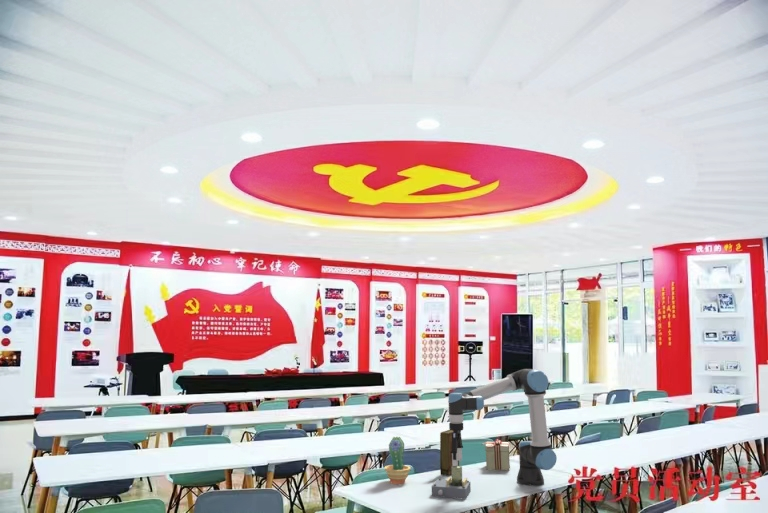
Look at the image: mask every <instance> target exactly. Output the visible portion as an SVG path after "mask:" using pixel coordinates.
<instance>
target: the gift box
mask: <svg viewBox="0 0 768 513" xmlns="http://www.w3.org/2000/svg"><path fill="white" fill-rule="evenodd" d="M483 445H485V447H484V448H485V450H484V451H485V461H486V462H485V463H486V464H485V465H486V466H485V467H486V468H485V469H486V470H488V471H510V470H511V466H510V442H508V441H502V440H500V439H498V438H496V439H495V441H484V442H483V443H482V444H481V445H480V446H483Z"/></svg>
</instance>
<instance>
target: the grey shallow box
mask: <svg viewBox="0 0 768 513" xmlns="http://www.w3.org/2000/svg"><path fill="white" fill-rule="evenodd" d="M471 488H472V487H471V481H470V480H468V478H467V477H465V478H464V479H462V487H461V486H452V476H448V478H447V479H442V478H437V479H436V480H435V481H434V483H432V485H431V497H439V498H447V497H449V498H450V499H458V498H462V499H461V500H467V498H468V497H469V495H470V493H471V490H472V489H471ZM467 496H468V497H467Z"/></svg>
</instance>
